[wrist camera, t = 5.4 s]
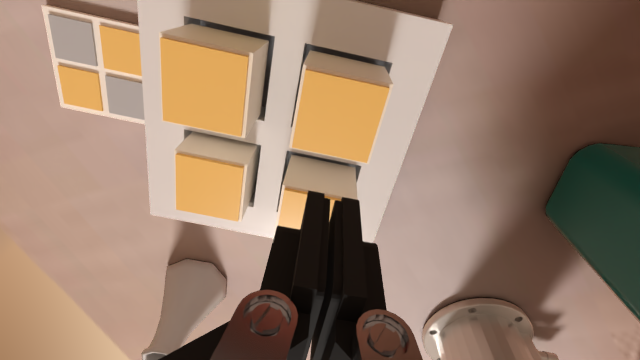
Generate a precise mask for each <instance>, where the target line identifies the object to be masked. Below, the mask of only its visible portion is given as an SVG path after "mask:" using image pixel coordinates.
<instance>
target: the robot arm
mask: <svg viewBox="0 0 640 360" xmlns="http://www.w3.org/2000/svg"><path fill="white" fill-rule="evenodd" d="M329 218H330V221H329ZM533 335H534V333H533V326H532V324H531V322H530V320H529V318H528V317H527V315H526V313H525V312H524V311H523V310H521V309H520V308H519V307H517V306H516V305H514V304H512V303H509V302H506V301H504V300H498V299H493V298H475V299H468V300H463V301H459V302H456V303H453V304H450V305H448V306H446V307H444V308H442V309H441V310H439V311H438V312H437V313H435V314H434V315H433V316H432V317H431V318H430V319H429V320H428V321H427V323H426V325H425V326H424V329H423V332H422V340H423V345H424V348H425V351H426V353H427V354H428V355H429V357H430V358H431V359H433V360H559V359H558V356H557V355H556V354H554V353H550V352H544V351H542V352H541V351H538V350H537V349H536V347H535V346H534V344H533V342H532V339H533ZM311 340H312V345H311V357H310V360H423V359H422V356H421V354H420V351H419V348H418V345H417V342H416V340H415V337H414V335H413V333H412V331H411V329H410V327H409V326H408V325H407V324H406V323H405V321H404V320H403V319H401V318H400V317H398V316H397V315H396V314H393V313H391V312H389V311H387V310H386V303H385V296H384V289H383V281H382V274H381V267H380V259H379V252H378V247H377V244H375V243H370V242H364V241H363V239H362V226H361V214H360V202H359V200H356V199H351V198H346V197H342V199H341V201H338V200H335V202H334V206H333V209H332V213H331V217H330V199H328V198H325V193H320V192H315V191H309V190H308V194H307V199H306V204H305V209H304V214H303V219H302V223H301V228H300V229H294V228H289V227H284V226H277V228H276V232H275V236H274V239H273V243H272V247H271V251H270V255H269V258H268V262H267V266H266V270H265V273H264V277H263V281H262V285H261V289H260V290H259V291H256V292H253V293H250V294H249V295H248V296H246V297H245V298H243V300H242V301H241V302H240V304H239V305H238V307H237V309H236V310H235V312H234V314H233V316H232V318H231V320H230V321H229V322H227V323H225V324H223V325H221V326H220V327H218V328H216V329H214V330H212V331H210V332H208V333H207V334H205V335H203V336H201V337H199V338H197V339H195V340H194V341H192V342H190V343H188V344H186V345H184V346H182V347H181V348H179V349H177V350H175V351H173V352H171V353H169V354H168V355H166V356H164V357H162V358H160V359H158V360H306V358H307V354H308V351H309V347H310V344H311Z"/></svg>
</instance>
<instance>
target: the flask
mask: <svg viewBox="0 0 640 360" xmlns="http://www.w3.org/2000/svg"><path fill="white" fill-rule="evenodd" d="M226 283H227V280H226V279H225V278H224V276H223V275H222V274H221V273H220V272H219V271H218V269H217V268H216V267H215V266H214V265H213V264H212V263H208V262H202V261H196V260H190V259H185V260H183V261H180V262H177V263H175V264H172V265H169V266H167V270H166V278H165V288H164V297H163V304H162V311H161V318H160V321H159V324H158V327H157V331H156V334H155V336H154V338H153V340H152V342H151V344H150V346H149V347H148V348H147V349H144V351H143V352H142V360H158V359H160V358H162V357H164V356H166V355H168V354H169V353H171V352H173V351H175V350H177V349H179V348H181V347H182V346H183V344H184V343H185V341H186V340H187V338H188V337H189V335H190V334H191V332H192V331H193V330H194V329H195V328H196V327H197V326H198V325H199V324H200V323H201V322H202V321H203V320H204V318H205V317H206V316H207V315H208V314H209V313H210V312H211V311H212V310H213V309H214V308H215V307H216V306H217V305H218V304H219V303H220V302H221V301H222V300H223V299H224V298H225V297H226Z"/></svg>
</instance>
